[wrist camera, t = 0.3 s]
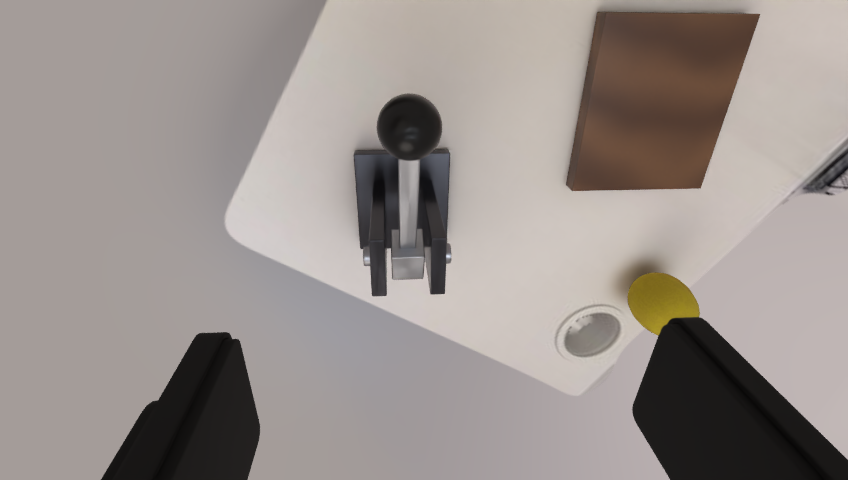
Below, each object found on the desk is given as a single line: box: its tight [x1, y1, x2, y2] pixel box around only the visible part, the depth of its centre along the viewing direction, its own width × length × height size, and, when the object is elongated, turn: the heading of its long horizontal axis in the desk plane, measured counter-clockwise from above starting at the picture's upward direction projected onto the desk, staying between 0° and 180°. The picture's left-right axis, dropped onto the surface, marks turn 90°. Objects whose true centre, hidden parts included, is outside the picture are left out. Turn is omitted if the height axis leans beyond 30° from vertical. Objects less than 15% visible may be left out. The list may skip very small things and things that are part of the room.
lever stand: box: [354, 149, 451, 296], centre depth 33 cm, size 9×8×12 cm
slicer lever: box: [377, 94, 442, 280], centre depth 25 cm, size 14×3×3 cm, turn 0°
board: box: [566, 12, 760, 191], centre depth 36 cm, size 14×12×2 cm
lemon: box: [628, 272, 700, 336], centre depth 42 cm, size 6×6×8 cm
